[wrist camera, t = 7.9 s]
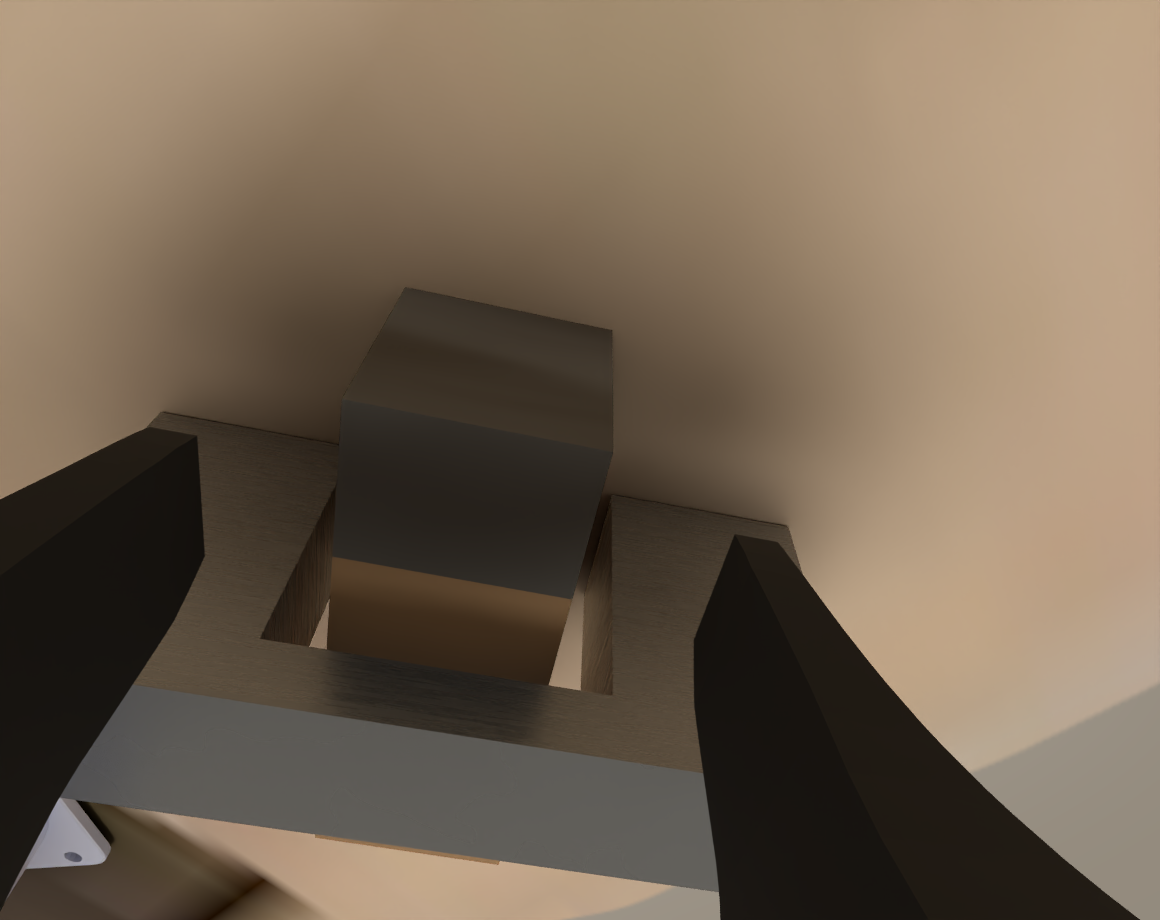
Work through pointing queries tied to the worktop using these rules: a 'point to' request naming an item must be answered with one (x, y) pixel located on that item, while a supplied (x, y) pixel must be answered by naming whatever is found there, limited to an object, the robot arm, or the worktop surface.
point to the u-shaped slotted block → (419, 693)
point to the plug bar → (468, 489)
